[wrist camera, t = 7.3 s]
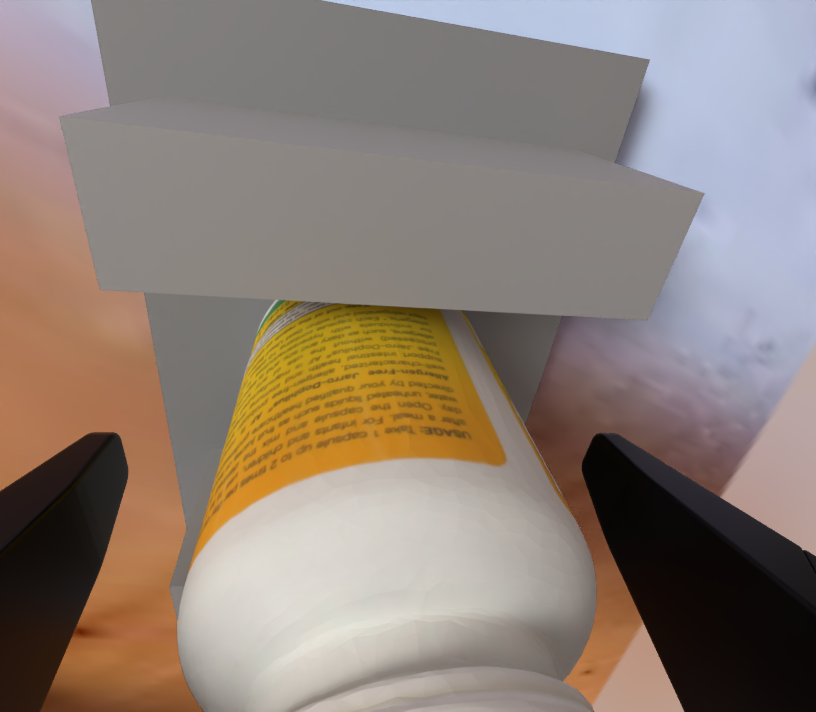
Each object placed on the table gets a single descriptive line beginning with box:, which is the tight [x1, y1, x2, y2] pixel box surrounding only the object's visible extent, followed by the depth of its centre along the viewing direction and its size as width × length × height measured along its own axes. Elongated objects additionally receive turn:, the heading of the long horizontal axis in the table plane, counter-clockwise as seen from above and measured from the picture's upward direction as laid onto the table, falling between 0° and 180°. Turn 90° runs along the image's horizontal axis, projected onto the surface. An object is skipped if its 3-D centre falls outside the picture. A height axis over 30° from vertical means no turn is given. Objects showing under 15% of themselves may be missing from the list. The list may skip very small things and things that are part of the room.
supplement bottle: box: [177, 300, 597, 712], centre depth 8 cm, size 5×5×10 cm
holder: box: [59, 0, 705, 621], centre depth 10 cm, size 14×10×5 cm
